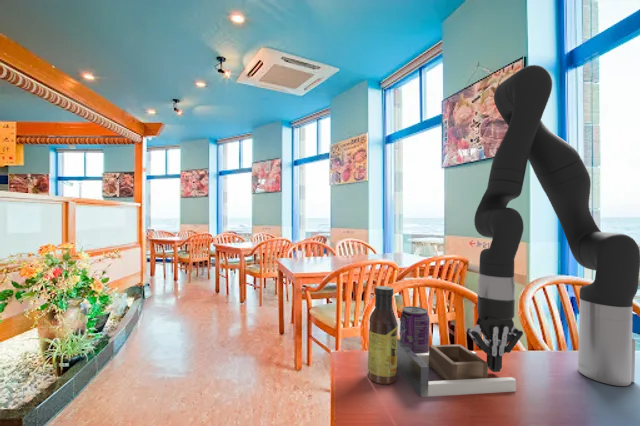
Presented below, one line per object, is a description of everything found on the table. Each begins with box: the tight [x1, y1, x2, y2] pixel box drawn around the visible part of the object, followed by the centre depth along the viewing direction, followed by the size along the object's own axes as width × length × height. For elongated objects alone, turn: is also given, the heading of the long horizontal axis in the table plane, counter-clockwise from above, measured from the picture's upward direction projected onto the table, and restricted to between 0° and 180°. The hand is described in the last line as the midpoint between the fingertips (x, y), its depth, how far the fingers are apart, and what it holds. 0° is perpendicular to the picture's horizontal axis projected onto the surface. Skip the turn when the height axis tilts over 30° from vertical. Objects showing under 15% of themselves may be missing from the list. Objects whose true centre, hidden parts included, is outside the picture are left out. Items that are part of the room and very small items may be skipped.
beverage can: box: [399, 305, 430, 353], centre depth 83 cm, size 7×7×12 cm
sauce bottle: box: [367, 285, 399, 385], centre depth 71 cm, size 7×6×20 cm
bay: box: [397, 338, 517, 398], centre depth 72 cm, size 21×14×6 cm
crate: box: [428, 344, 489, 381], centre depth 72 cm, size 8×10×5 cm
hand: (493, 370), depth 74 cm, fingers closed
